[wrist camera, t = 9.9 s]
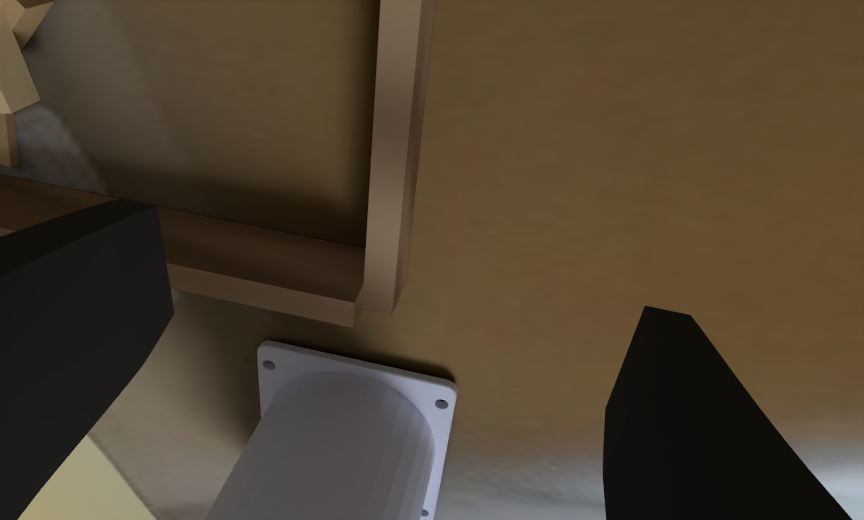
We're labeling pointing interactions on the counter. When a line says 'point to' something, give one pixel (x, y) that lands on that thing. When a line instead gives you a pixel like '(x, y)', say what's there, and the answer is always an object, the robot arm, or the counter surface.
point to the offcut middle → (25, 17)
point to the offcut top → (13, 72)
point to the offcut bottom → (8, 141)
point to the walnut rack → (284, 252)
